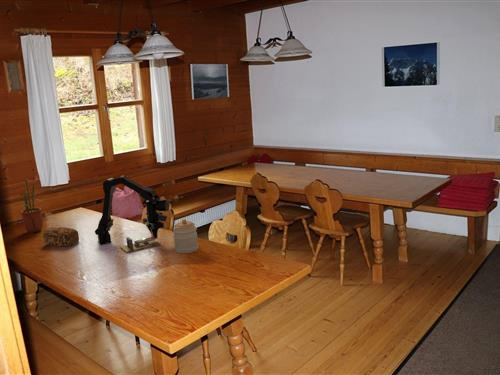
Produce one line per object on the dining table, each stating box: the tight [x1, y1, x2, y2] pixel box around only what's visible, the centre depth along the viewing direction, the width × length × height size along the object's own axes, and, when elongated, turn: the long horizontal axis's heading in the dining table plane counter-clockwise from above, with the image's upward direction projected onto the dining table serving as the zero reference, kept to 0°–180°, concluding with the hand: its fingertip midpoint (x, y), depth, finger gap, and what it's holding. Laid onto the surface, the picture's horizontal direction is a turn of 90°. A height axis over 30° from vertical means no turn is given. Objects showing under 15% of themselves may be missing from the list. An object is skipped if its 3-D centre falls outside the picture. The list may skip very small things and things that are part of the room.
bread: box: [42, 226, 80, 247], centre depth 293 cm, size 19×11×10 cm, turn 71°
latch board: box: [120, 236, 162, 254], centre depth 276 cm, size 20×11×6 cm, turn 122°
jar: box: [172, 218, 199, 254], centre depth 265 cm, size 13×13×18 cm
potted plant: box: [19, 179, 44, 234], centre depth 320 cm, size 17×16×35 cm
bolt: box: [133, 231, 159, 244], centre depth 278 cm, size 13×3×6 cm, turn 122°
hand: (154, 236), depth 281 cm, fingers closed on bolt, 3 cm apart
